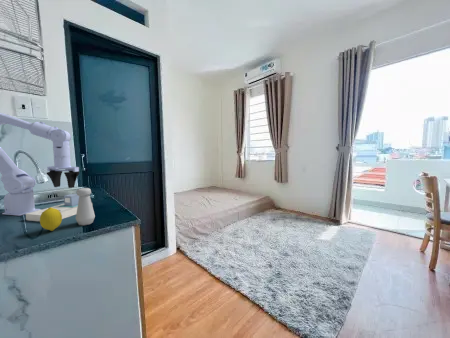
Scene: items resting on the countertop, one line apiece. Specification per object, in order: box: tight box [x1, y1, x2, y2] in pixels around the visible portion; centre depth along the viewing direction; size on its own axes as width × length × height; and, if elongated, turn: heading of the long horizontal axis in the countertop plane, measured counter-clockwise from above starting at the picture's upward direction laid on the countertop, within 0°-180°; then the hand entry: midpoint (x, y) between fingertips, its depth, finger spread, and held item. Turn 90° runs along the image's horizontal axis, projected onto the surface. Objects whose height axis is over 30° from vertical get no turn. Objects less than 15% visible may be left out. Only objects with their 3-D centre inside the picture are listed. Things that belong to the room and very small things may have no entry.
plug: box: [63, 193, 79, 207], centre depth 88 cm, size 4×4×7 cm
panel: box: [25, 203, 94, 222], centre depth 83 cm, size 12×18×3 cm, turn 169°
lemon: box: [39, 206, 63, 232], centre depth 66 cm, size 6×6×8 cm
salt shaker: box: [75, 187, 96, 226], centre depth 72 cm, size 6×6×13 cm
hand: (64, 187), depth 89 cm, fingers open, 7 cm apart
